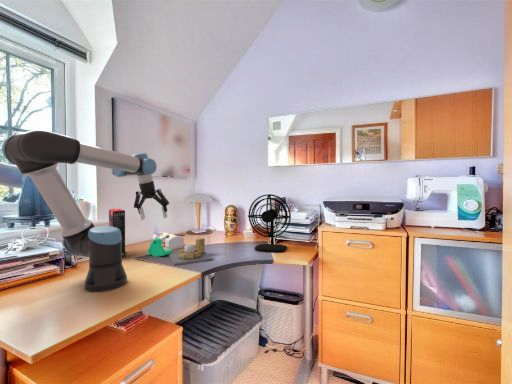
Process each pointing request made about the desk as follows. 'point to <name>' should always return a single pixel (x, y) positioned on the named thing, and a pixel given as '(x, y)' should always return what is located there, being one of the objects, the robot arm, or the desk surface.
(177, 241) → the diorama
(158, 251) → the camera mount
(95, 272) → the robot arm
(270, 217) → the desk fan
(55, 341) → the desk surface
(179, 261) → the cap base
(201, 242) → the olive castle ruin model
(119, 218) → the graphics card box
